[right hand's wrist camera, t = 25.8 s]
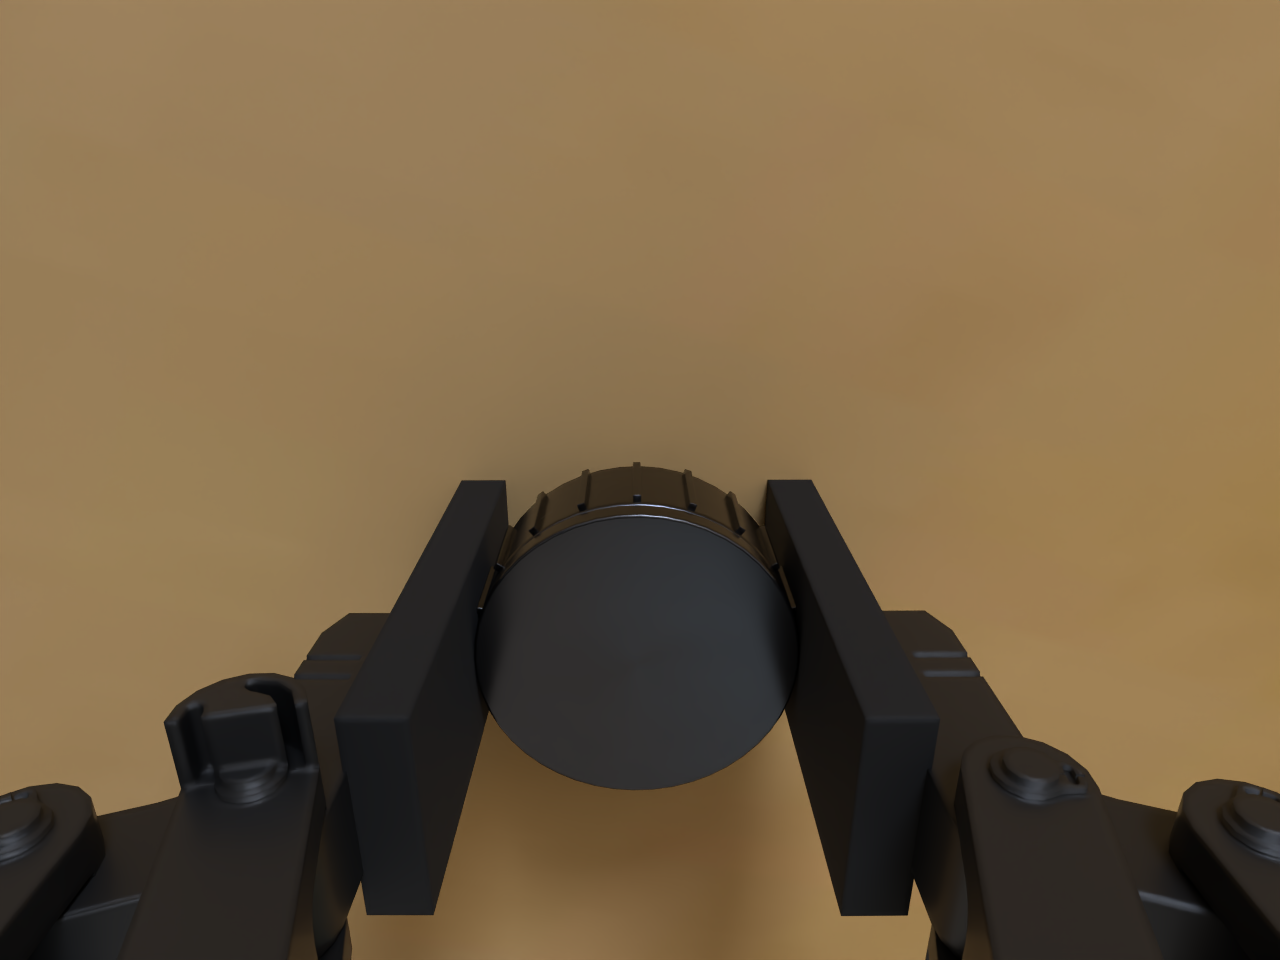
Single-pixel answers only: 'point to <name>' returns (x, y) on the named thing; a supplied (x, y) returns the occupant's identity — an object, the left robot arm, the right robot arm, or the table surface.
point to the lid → (636, 630)
